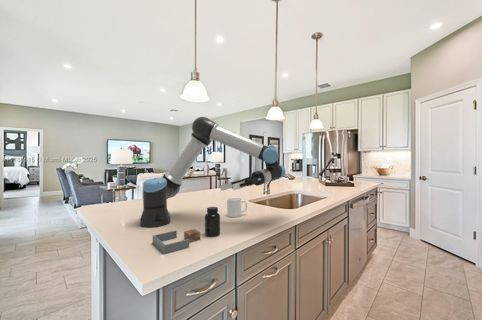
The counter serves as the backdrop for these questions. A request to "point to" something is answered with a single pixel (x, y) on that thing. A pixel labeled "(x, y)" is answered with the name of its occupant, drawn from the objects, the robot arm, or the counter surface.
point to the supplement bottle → (212, 222)
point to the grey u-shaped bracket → (172, 246)
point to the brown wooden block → (192, 235)
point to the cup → (235, 207)
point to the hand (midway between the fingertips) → (226, 188)
